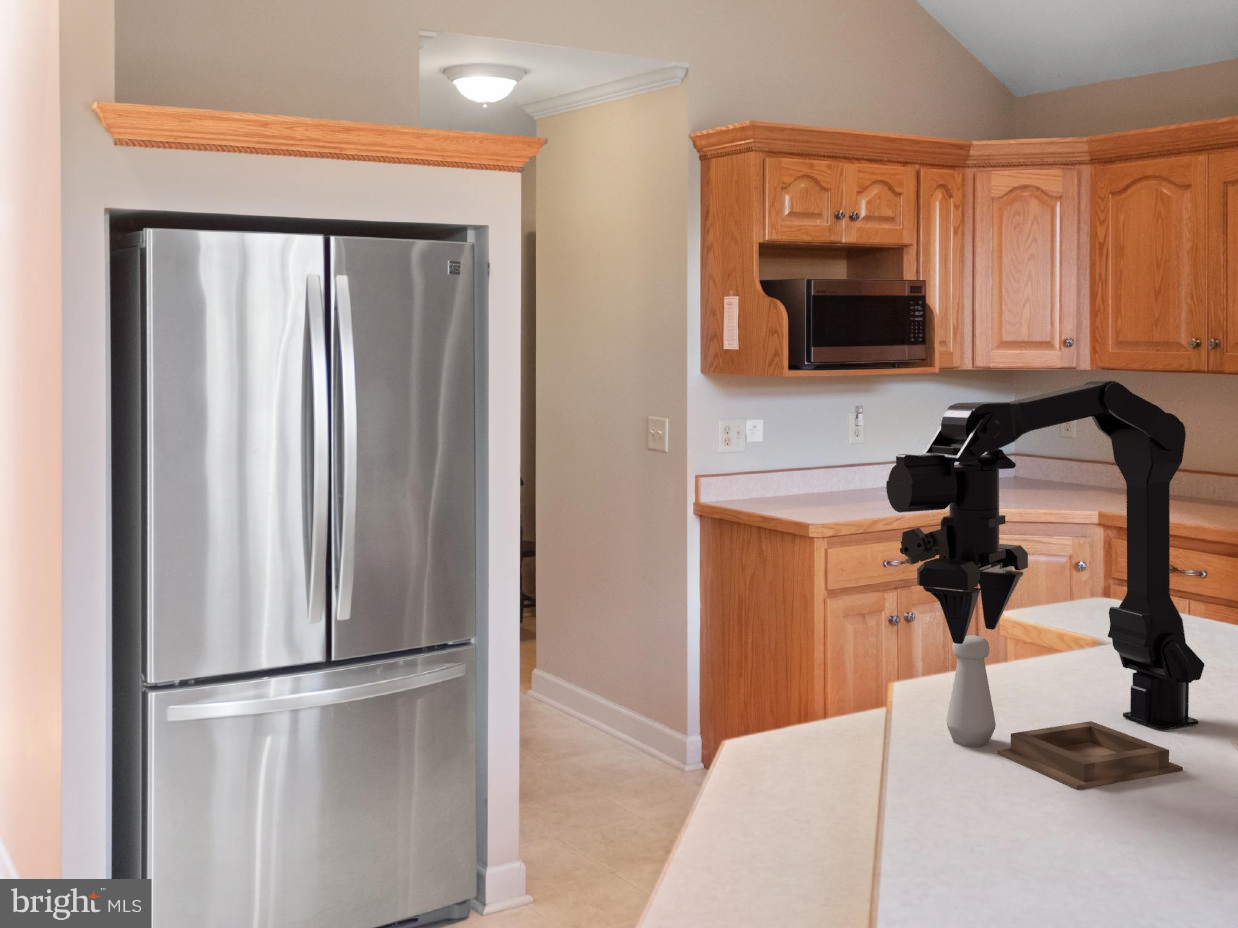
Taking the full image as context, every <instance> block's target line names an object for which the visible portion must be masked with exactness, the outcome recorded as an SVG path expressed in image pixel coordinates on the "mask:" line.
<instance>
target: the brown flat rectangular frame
mask: <svg viewBox="0 0 1238 928" xmlns="http://www.w3.org/2000/svg"><path fill="white" fill-rule="evenodd" d="M996 753H997V754H998V755H1000V756H1001V757H1004V758H1007V759H1009V760H1011V761H1013V762H1016V763H1018V764H1020V765H1022V766H1024V767H1025V768H1027V769H1031V770H1032V771H1035V772H1037V773H1040V774H1042V775H1043V776H1046V777H1048V778H1050V779H1053V780H1055V781H1057V782H1059V783H1061V784H1064V785H1066V786H1069V787H1070V788H1073V789H1074V790H1082V789H1086V788H1091V787H1097V786H1103V785H1108V784H1114V783H1120V782H1125V781H1126V782H1127V781H1132V780H1136V779H1142V778H1148V777H1153V776H1158V775H1163V774H1170V773H1176V772H1181V771H1183V770H1184V767H1183V766H1182V765H1179V764H1177V763H1174V762H1171V761H1170V749H1168V748H1165V747H1163V746H1160V745H1157V744H1155V743H1151V742H1148V741H1146V740H1143V739H1141V738H1139V737H1135V736H1133V735H1130V734H1127V733H1125V732H1121V731H1118V730H1116V729H1114V728H1111V727H1108V726H1105V725H1103V724H1100V723H1097V722H1095V721H1092V720H1089V721H1083V722H1076V723H1070V724H1062V725H1057V726H1051V727H1044V728H1038V729H1030V730H1026V731H1025V730H1024V731H1018V732H1012V733H1010V748H1004V749H997V752H996Z"/></svg>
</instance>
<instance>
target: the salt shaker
mask: <svg viewBox="0 0 1238 928" xmlns="http://www.w3.org/2000/svg"><path fill="white" fill-rule="evenodd" d="M952 654H953V655H954V656H955V657H957V661H956V669H955V673H954V681H953V683H952V690H951V693H950V699H949V702H948V704H949V705H948V709H947V714H946V720H945V721H946V726H947V730H948V731H949V734H950V737H951V740H953V743H956V744H958V745H961V746H963V747H979V748H980V747H982V746H986V745H988V744H989V743H990V741H991V740H992V739H991V738H992V736H993V734H994V732H995V730H996V726H997V724H996V719H995V718H996V717H995V714H994V713H995V712H994V707H993V701H992V696H991V691H990V685H989V679H988V675H987V673H988V672H987V667H986V662H985V659H986V658H988V657H989V655H990V644H989V641H988V640H987V639H986V638H985V637H982V636H979V635H973V634H972V635H970V634H968V635H967V634H966V637H965V639H964V642H963V643H962V644H956V643H954V642H953V641H952Z"/></svg>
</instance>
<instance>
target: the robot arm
mask: <svg viewBox="0 0 1238 928" xmlns="http://www.w3.org/2000/svg"><path fill="white" fill-rule="evenodd" d="M1090 417H1091V419H1092V421H1093V422H1094V424H1095V426H1096V428H1097V429H1098V430H1099V432H1101V433H1103V435H1106V437H1108V438H1109V439H1110V440H1111V446H1112V452H1113V453H1112V454H1113V459H1114V462H1115V464H1116V465H1117V467H1118V470H1119V471H1120V473H1121V475H1122V476H1123V479H1124V481H1125V483H1126V484H1125V485H1126V486H1125V487H1126V595H1125V596H1124V597H1123V599H1122V601H1121V603H1120V604H1119V606H1118V607H1117V606H1110V607H1109V610H1108V618H1109V629H1108V634H1107V638H1110V639H1111V641H1112V646H1113V649H1114V650H1115V651H1116V652H1117V653H1118V656H1119V659H1120V663H1121V665H1122V667H1123V669H1129V670H1133V671H1135V672H1132V685H1131V686H1130V704H1129V705H1130V707H1129V708H1130V711H1126V712H1122V717H1123V718H1125V719H1128V720H1132V721H1134V722H1136V723H1140V724H1142V725H1146V726H1147V727H1151V728H1154V729H1157V730H1169V729H1174V728H1175V729H1176V728H1180V727H1181V728H1182V727H1188V726H1193V725H1198V724H1199V719H1197V718H1195V717H1192V716H1189V703H1190V702H1189V699H1190V698H1189V696H1190V694H1189V692H1190V689H1189V688H1190V684H1192V682H1193V681H1199V680H1201V678H1202V676H1203V672H1204V668H1205V663H1204V661H1203V660H1202V659H1201V658H1200V657H1199V656H1198V655H1197V654H1196V653H1195V651H1193V649H1192V648H1191V647H1190V646H1189V645H1188V644H1187V642H1186V641H1187V640H1186V636H1185V627H1184V621H1183V618H1182V616H1181V614H1180V612H1179V611H1178V609H1177V607H1176V605H1175V603H1174V601H1173V598H1171V591H1170V590H1171V589H1170V588H1171V583H1170V582H1171V581H1170V580H1171V578H1170V575H1171V572H1170V570H1171V566H1170V564H1171V562H1170V561H1171V560H1170V555H1171V554H1170V553H1171V550H1170V545H1171V544H1170V541H1171V539H1170V538H1171V535H1170V533H1171V532H1170V530H1171V529H1170V528H1171V525H1170V524H1171V523H1170V522H1171V519H1170V507H1171V506H1170V504H1171V503H1170V498H1171V497H1170V495H1171V494H1170V493H1171V492H1170V487H1171V486H1170V485H1171V481H1172V480H1173V478H1174V477H1175V474H1176V473H1177V471H1178V469H1179V468H1180V466H1181V465H1182V462H1183V460H1184V452H1185V451H1184V450H1185V445H1186V444H1185V443H1186V438H1187V434H1186V433H1187V431H1186V427H1185V424H1184V422H1183V421H1181V420H1180V419H1179V418H1178V416H1176V415H1175V414H1174V413H1172V412H1171V413H1170V412H1166V411H1164V409H1162V408H1161V407H1160V406H1158V405H1156V404H1154V403H1153V402H1150V401H1148V400H1146V399H1145V398H1142V397H1141V396H1139V395H1137V394H1135V393H1133V392H1132V391H1130V390H1129V388H1127V387H1126V386H1125V385H1123V384H1122V383H1120V382H1118V381H1116V380H1089V381H1086V382H1085V383H1083V384H1081V385H1075V386H1072V387H1067V388H1064V389H1058V390H1055V391H1050V392H1046V393H1041V394H1036V395H1033V396H1028V397H1024V398H1020V399H1014V400H1011V401H981V402H979V401H977V402H976V401H975V402H956V403H954V404H952V405H949V406H948V407H947V408H946V409H945V413H944V414H943V416H942V420H941V422H940V426H939V427H938V429H937V430H936V433H935V434H934V436H933V437H932V438H931V440H930V442H929V443H928V444H927V447H926V448H925V449H924V451H923V453H922V454H907V453H903V454H902V453H901V454H898V453H897V454H896V456H895V465H894V466H893V467H892V468H891V469H890V472H889V475H888V479H887V480H886V484H885V485H886V487H885V488H886V494H887V500H888V502H889V504H890V506H891V508H892V509H893V510H894V511H895V512H897V513H911V512H913V513H914V512H915V513H916V512H927V511H928V512H929V511H942V510H945V509H947V508H948V507H949V510H948V511H949V513H948V514H949V515H945V516H943V517H942V518H941V519H940V528H939V529H936V530H932V531H929V532H924V531H923V530H922V529H921V528H920V527H915V528H911V529H908V530H905V531H903V532H902V533H901V540H900V545H901V547H899V553H900V554H902V555H904V556H905V557H906V558H907V559H908V561H909V564H910V565H911V566H912V565H914V564H915V565H916V564H918V563H920V562H921V563H922V562H923V563H922V564H920V565H919V567H918V568H917V569H916V575H917V576H916V582H917V583H916V584H917V586H919V587H922V589H923V590H924V591H925V592H926V593H930V594H931V595H932V596H933V597H934V598H936V600H937V601H938V602H939V604H940V607H941V610H942V613H943V615H944V619H945V621H946V623H947V624H946V625H947V627H948V631H949V634H950V637H951V641H952V643H953V642H954V643H956V644H962V643H963V642H964V639H965V637H966V635H967V634H968V630H969V627H970V624H971V621H972V617H973V614H974V611H975V609H976V604H977V602H978V599H979V595H980V599H981V606H982V614H983V621H984V627H985V629H986V630H991V631H993V630H995V629H996V628H997V625H998V623H999V621H1000V619H1001V618H1002V615H1003V613H1004V611H1005V609H1006V607H1007V604H1008V603H1009V600H1010V599H1011V597H1012V594H1013V593H1014V591H1015V588H1016V587H1017V585H1018V583H1019V581H1020V579H1021V577H1023V575H1024V572H1023V570H1026V569H1028V568H1029V553H1028V551H1027V550H1026V549H1025V548H1024V547H1023V546H1022V545H1019V544H1007V543H1006V544H1005V543H1000V526H1001V525H1004V524H1006V514H1000V470H1009V469H1010V470H1011V469H1015V468H1016V467H1017V464H1016V462H1015V461H1014V460H1012V459H1011V458H1010V457H1009V456H1008V455H1006V453H1005V452H1004V450H1003V449H1001V448H1004V447H1006V446H1009V445H1010V444H1012V443H1014V442H1016V441H1017V440H1018V439H1020V437H1022V436H1023V435H1025V434H1027V433H1030V432H1033V431H1036V430H1041V429H1044V428H1049V427H1053V426H1057V425H1062V424H1066V423H1069V422H1070V423H1071V422H1074V421H1078V420H1082V419H1086V418H1090ZM956 463H958V464H956ZM936 556H938V557H936ZM1013 569H1014V570H1013ZM978 586H979V587H978Z"/></svg>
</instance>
